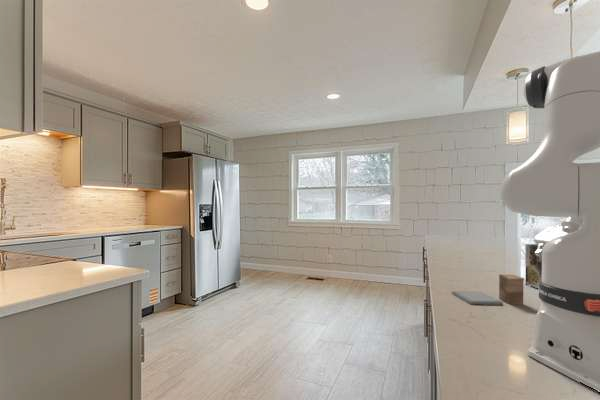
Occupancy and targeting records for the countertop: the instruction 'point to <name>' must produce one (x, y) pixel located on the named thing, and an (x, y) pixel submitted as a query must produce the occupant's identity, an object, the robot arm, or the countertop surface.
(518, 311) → the countertop surface
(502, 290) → the walnut block
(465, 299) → the plate
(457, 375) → the countertop surface
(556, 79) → the robot arm
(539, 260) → the coffee box
